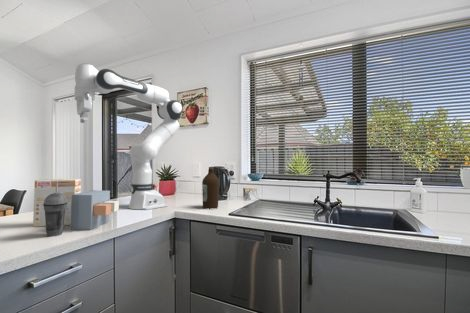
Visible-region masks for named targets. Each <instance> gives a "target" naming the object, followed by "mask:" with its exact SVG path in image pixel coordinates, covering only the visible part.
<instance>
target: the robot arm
mask: <svg viewBox="0 0 470 313" xmlns="http://www.w3.org/2000/svg"><path fill="white" fill-rule="evenodd" d="M74 82H75V85H74V96H73V97H74V98H75V99H74V100H75V101H76V113H77V115H78V116H79V120H80V123H81V124H85V122H86V121H88V120H89V113H90V112H91V111H92V108H93V104H92V103H93V101H95V98H96V93H95V92H97V93H101V94H109V93H111V92H112V91H113V90H115V89H121V90H126V91H129V92H133V93H135V94H136V96H137V98H138V99H139V101H141V102H142V101H143V102H146V103H148V104H149V103H151V104H155V105H156V113H157V115H158V118H160V119H161V120H163V121H162V122H161V123H160V124H159V125H157V126H156V127H155V128H154V129H153V130H152V131H151V132H149V134H148V136H147V137H146V138H145V139H144V140H143V141H141V142H140V143H134V144H133V145H132V146H131V147H130V149H129V156H130V164H131V169H132V172H131V174H132V175H131V176H132V180H131V186H130V192H131V193H130V194H131V195H130V200H129V203H128V204H129V205H128V209H130V210H131V209H132V210H147V211H148V210H154V209H159V208H164V207H168V206H169V204H168V203H167V202H165V198H164V195H163V194H162V193H160V192H159V191H157V190H156V189H155V188H158V184H156V183H155V184H154V183H153V182H152V181H153V170H152V167H151V163H150V161H151V160H154V159H156V158H157V156H158V153H159V152H160V151H161V149H162V148H163V147H164V145H165V144H167V143H168V142H169V141H170V140H171V139H172V138H173V137H174V136H175V135H176V134H177V132H178V131H179V129H180V123H179V121H178V120H180V119H181V116H182V114H183V111H184V106H183V104H182V103H181V101H179V100H176V99H171V100H170V93H169V91H168V90H167V89H165V88H163V87H161V86H157V85H154V84H150V83H145V82H142V81H138V80H135V79H132V78H129V77H125V76H122V75H120V74H118V73H117V72H116V71H113V70H112V69H109V68H102V69H100V70H98V69H97V68H96V67H95V66H94V65H92V64H89V63H80V64H78V65H77V66H76V67H75V73H74Z"/></svg>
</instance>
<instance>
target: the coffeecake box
mask: <svg viewBox="0 0 470 313" xmlns="http://www.w3.org/2000/svg"><path fill="white" fill-rule="evenodd" d="M57 181H58V190H57V193H61V194H63V195H64V196H65V197H66V199H67V207H66V210H65V217H64V224H63V226H71V203H72V195H73V194H78V193H82V178H52V179H51V178H49V179H48V178H46V179H45V178H43V179H42V178H41V179H36V180H34V189H33V190H34V193H33V194H34V196H33V197H34V198H33V220H32V223H33V224H32V227H33V228H37V227H46V221H45V211H44V205H43V204H44V200H45V199H46V197H47V196H49V195H50V194H53V193H56V182H57Z"/></svg>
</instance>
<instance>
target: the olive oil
mask: <svg viewBox="0 0 470 313" xmlns="http://www.w3.org/2000/svg"><path fill="white" fill-rule="evenodd" d="M214 169H215V166H214V167H213V166H208V170H207V171H208V173H207V174H206V175H205V176H204V177H203V179H202V181H201V188H202V189H201V190H202V192H201V193H202V209H205V208H209V209H208V210H211V209H210V208H216V209H218V208H219V198H220V197H219V196H220V195H219V194H220V178H218V176H217V175H216V174H215V170H214ZM217 207H218V208H217Z"/></svg>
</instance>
